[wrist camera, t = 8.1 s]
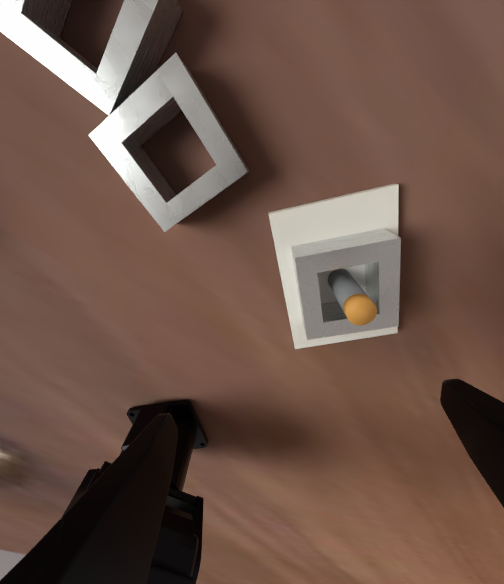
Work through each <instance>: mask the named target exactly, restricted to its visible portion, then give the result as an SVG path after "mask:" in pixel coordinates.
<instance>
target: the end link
mask: <svg viewBox="0 0 504 584" xmlns="http://www.w3.org/2000/svg"><path fill="white" fill-rule="evenodd" d="M291 252H292V258H293V264H294V271H295V277H296V284H297V290H298V296H299V303H300V309H301V316H302V322H303V325H304V329H305V333H306V337H307V340H311V339H317V338H324V337H331V336H337V335H344V334H350V333H357V332H364V331H370V330H377V329H384V328H390V327H397V326H399V293H400V254H401V238H400V237H399V236H397V235H395V234H393V233H391V232H389V231H387V230H385V229H383V228H381V229H376V230H371V231H366V232H361V233H356V234H351V235H346V236H341V237H336V238H331V239H326V240H320V241H315V242H310V243H305V244H300V245H295V246H291ZM363 264H365V285H366V294H367V295H368V297H369V298H370V299H371V300H372V302H373V303H374V304H375V305H376V307H377V314H376V317H375V318H374V319H373V320H372V321H371V322H370V323H368V324H366V325H354V324H352V323H351V322H350V321H349V320H348V318H347V316H346V315H345V313H344V311H343V309H342V307H341V306H340V304H339V302H338V301H335V302H329V303H323V304H321V300H320V292H319V283H318V275H317V273H319V272H325V271H330V270H336V269H341V268H347V267H352V266H358V265H363Z"/></svg>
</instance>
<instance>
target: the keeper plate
mask: <svg viewBox="0 0 504 584" xmlns="http://www.w3.org/2000/svg"><path fill="white" fill-rule="evenodd" d="M398 187H399V184H390V185H386V186H381V187H377V188H373V189H368V190H364V191H360V192H355V193H351V194H347V195H342V196H338V197H333V198H329V199H325V200H320V201H316V202H312V203H307V204H303V205H299V206H294V207H290V208H286V209H281V210H277V211H272V212H268V213H269V219H270V224H271V229H272V234H273V239H274V244H275V249H276V254H277V259H278V264H279V269H280V275H281V280H282V285H283V290H284V295H285V300H286V305H287V310H288V315H289V320H290V325H291V331H292V336H293V341H294V346H295V349H299V348H305V347H312V346H318V345H324V344H331V343H337V342H343V341H350V340H356V339H362V338H369V337H375V336H381V335H388V334H394V333H397V328H398V326H397V327H390V328H384V329H377V330H370V331H364V332H357V333H350V334H344V335H337V336H331V337H324V338H317V339H311V340H307V337H306V333H305V329H304V325H303V322H302V316H301V309H300V303H299V296H298V290H297V284H296V277H295V271H294V264H293V258H292V252H291V246H295V245H300V244H305V243H310V242H315V241H320V240H326V239H331V238H336V237H341V236H346V235H351V234H356V233H361V232H366V231H371V230H376V229H381V228H383V229H385V230H387V231H389V232H391V233H393V234H395V235H397V236H398ZM317 275H318V283H319V292H320V300H321V304H323V303H329V302H335V301H338V302H339V304H340V306H341V307H342V309H343V311H344V313H345V315H346V316H347V318H348V320H349V321H350V322H351V323H352V324H354V325H366V324H368V323H370V322H371V321H372V320H373V319H374V318H375V317H376V314H377V307H376V305H375V304H374V303H373V302H372V300H371V299H370V298H369V297H368V295H367V294H366V285H365V264H363V265H358V266H352V267H347V268H341V269H336V270H330V271H325V272H319V273H317Z"/></svg>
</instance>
